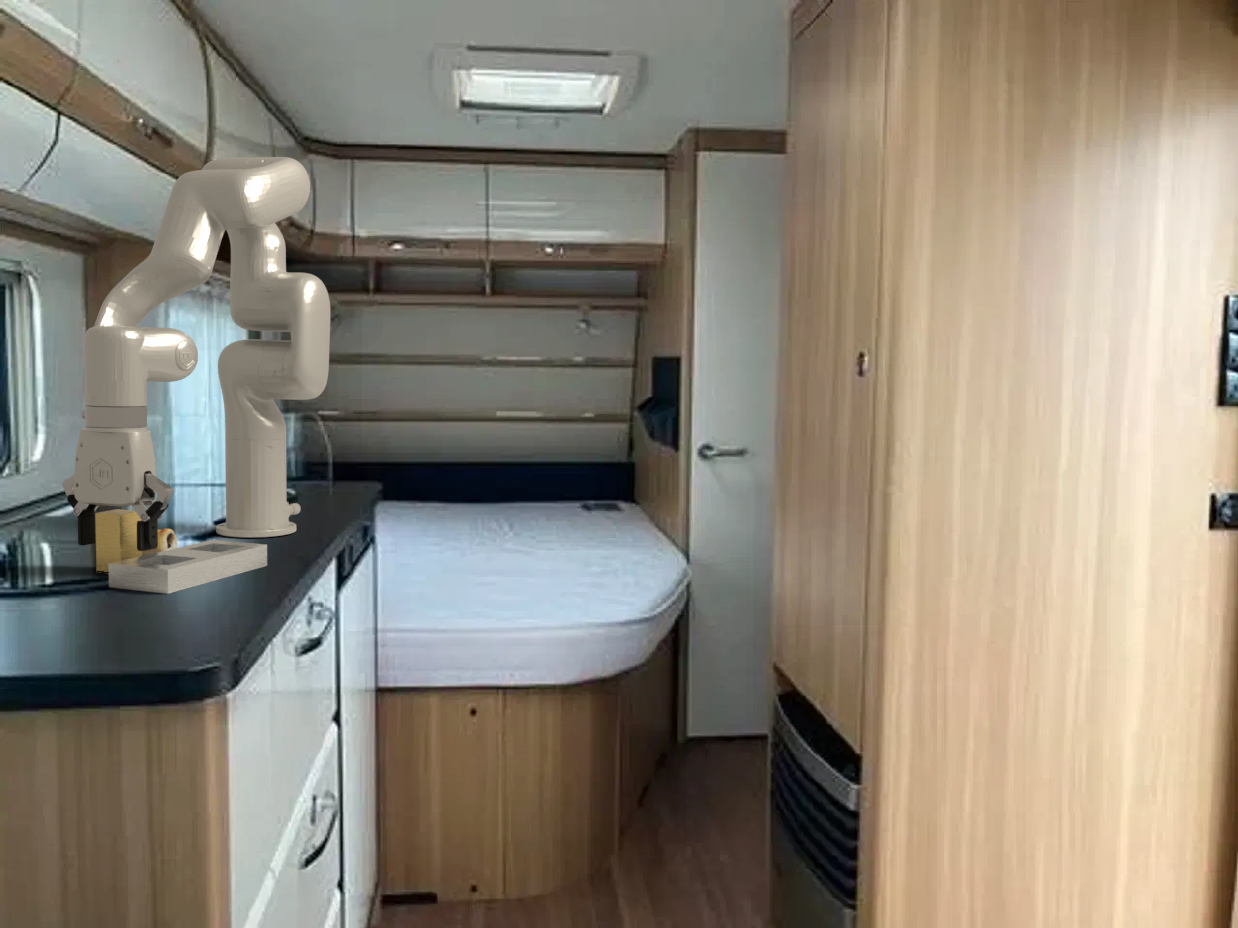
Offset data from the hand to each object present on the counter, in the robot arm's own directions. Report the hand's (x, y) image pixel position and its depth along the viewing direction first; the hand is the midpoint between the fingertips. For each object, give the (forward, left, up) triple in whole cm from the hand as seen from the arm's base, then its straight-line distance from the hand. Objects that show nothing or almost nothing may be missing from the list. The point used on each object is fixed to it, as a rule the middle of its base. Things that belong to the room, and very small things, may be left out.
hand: (117, 546), depth 149 cm
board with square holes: (-1, +11, -3) cm, 12 cm away
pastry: (-13, -7, -4) cm, 15 cm away
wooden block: (0, 0, -3) cm, 3 cm away
